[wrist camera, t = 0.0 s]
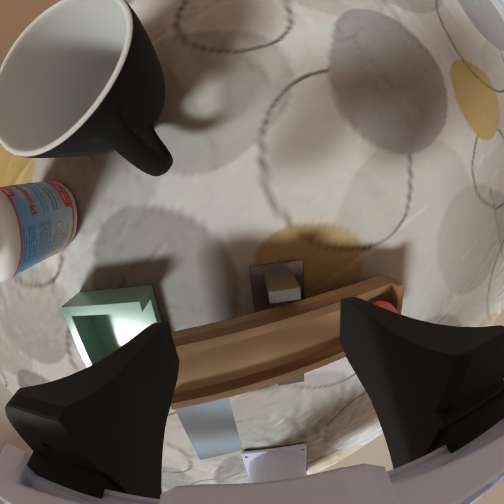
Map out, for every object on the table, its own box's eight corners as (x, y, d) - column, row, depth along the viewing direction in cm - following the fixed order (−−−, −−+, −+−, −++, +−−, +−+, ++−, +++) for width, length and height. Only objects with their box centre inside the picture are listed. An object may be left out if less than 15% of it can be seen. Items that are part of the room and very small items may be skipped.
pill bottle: (85, 186, 18) (-20, 204, 8) (77, 258, 20) (-12, 316, 9) (35, 175, 18) (-61, 189, 7) (29, 241, 19) (-56, 282, 8)
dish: (175, 364, 23) (168, 387, 20) (107, 365, 23) (95, 385, 20) (151, 284, 21) (139, 301, 18) (79, 292, 21) (61, 307, 18)
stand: (306, 354, 23) (316, 383, 19) (261, 361, 23) (265, 391, 19) (301, 259, 21) (315, 277, 17) (249, 266, 21) (251, 287, 17)
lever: (364, 389, 25) (382, 405, 22) (197, 448, 20) (204, 474, 17) (377, 266, 21) (404, 277, 18) (147, 325, 16) (145, 352, 13)
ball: (376, 322, 21) (403, 336, 18) (351, 336, 20) (379, 353, 17) (379, 290, 20) (408, 302, 17) (353, 303, 19) (383, 317, 16)
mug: (61, 114, 16) (-23, 95, 7) (137, 37, 15) (84, -29, 6) (141, 214, 19) (66, 249, 10) (232, 131, 18) (226, 86, 8)
